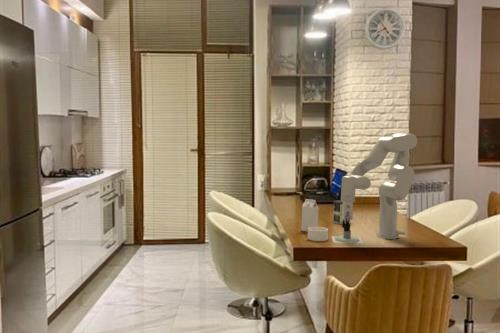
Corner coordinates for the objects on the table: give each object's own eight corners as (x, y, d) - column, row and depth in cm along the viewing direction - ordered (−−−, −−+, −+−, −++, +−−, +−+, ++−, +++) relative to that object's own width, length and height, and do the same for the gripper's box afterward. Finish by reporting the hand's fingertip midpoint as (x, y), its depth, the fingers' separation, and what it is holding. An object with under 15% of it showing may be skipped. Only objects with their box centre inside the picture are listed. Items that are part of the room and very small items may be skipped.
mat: (360, 237, 277) (360, 237, 277) (363, 244, 261) (363, 243, 261) (331, 236, 279) (331, 236, 279) (333, 243, 263) (333, 242, 263)
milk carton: (307, 229, 300) (308, 198, 299) (317, 230, 296) (318, 199, 294) (301, 230, 295) (302, 199, 293) (311, 232, 290) (312, 200, 289)
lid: (357, 237, 276) (357, 228, 276) (360, 242, 263) (360, 233, 263) (334, 236, 277) (334, 228, 277) (335, 241, 264) (336, 232, 264)
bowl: (327, 237, 277) (327, 227, 276) (328, 242, 266) (328, 231, 265) (307, 237, 278) (307, 226, 277) (307, 241, 267) (308, 230, 267)
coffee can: (331, 223, 321) (332, 201, 320) (334, 220, 330) (335, 199, 329) (347, 224, 317) (348, 202, 316) (349, 221, 327) (350, 200, 326)
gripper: (356, 200, 259) (354, 232, 260) (353, 197, 277) (351, 227, 278) (342, 200, 260) (340, 232, 261) (339, 196, 277) (337, 226, 278)
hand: (345, 229), depth 269 cm, fingers open, 9 cm apart
